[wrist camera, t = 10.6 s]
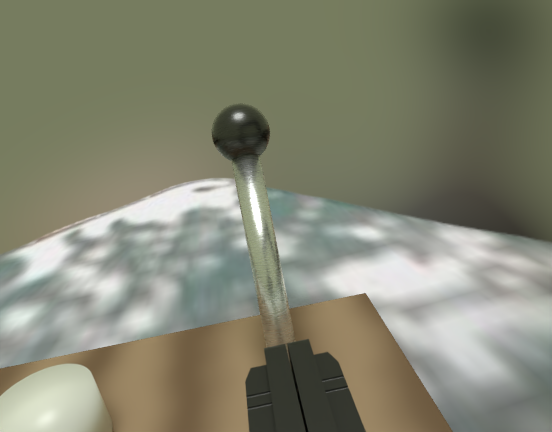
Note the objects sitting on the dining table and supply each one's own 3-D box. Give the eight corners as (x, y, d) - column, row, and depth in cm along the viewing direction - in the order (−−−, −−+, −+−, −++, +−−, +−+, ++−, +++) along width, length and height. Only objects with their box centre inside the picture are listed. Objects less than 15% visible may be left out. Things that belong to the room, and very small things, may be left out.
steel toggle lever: (313, 373, 23) (263, 110, 24) (324, 394, 20) (265, 90, 21) (259, 385, 23) (209, 118, 24) (261, 408, 20) (203, 100, 20)
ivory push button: (121, 398, 23) (104, 355, 22) (98, 484, 18) (75, 435, 17) (32, 417, 23) (9, 375, 21) (-14, 510, 18) (-47, 462, 17)
